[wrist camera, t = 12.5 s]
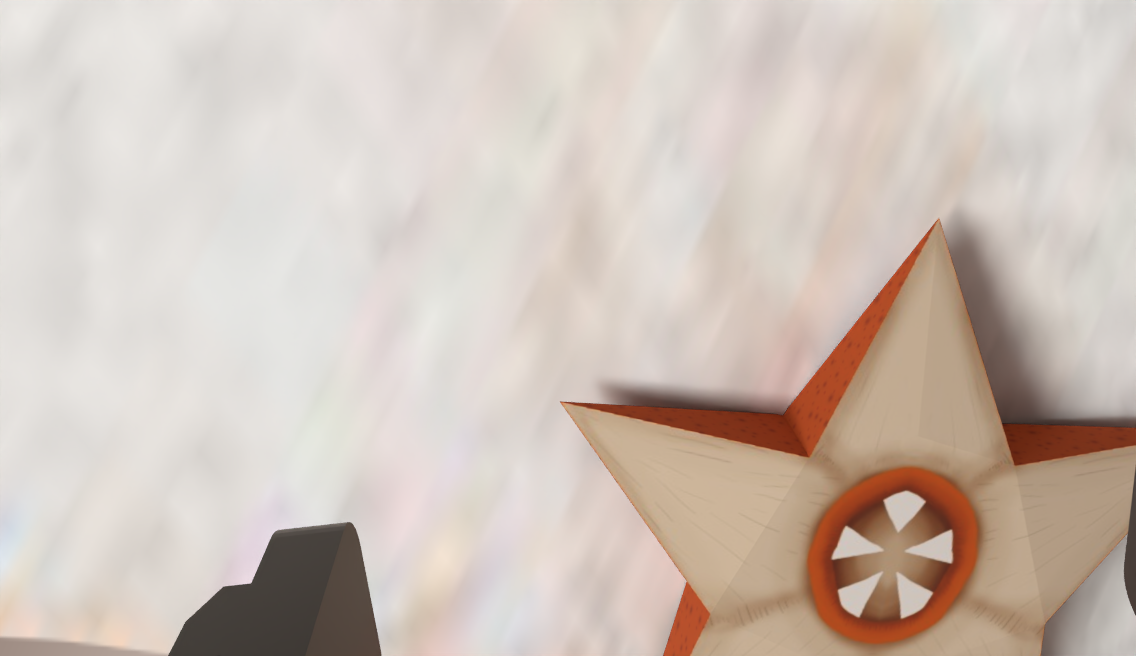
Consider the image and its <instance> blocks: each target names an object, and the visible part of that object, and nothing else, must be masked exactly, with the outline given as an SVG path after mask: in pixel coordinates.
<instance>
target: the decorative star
mask: <svg viewBox="0 0 1136 656" xmlns="http://www.w3.org/2000/svg"><path fill="white" fill-rule="evenodd" d="M561 404H562V405H563V407H564V408H565V409H566V411H567V412H568V414H569V415H570V417H571V418H572V419H573V421H574V422H575V424H576V425H577V426H578V428H579V429H580V431H581V432H582V434H583V435H584V436H585V438H586V439H587V441H588V442H589V443H590V445H591V446H592V448H593V449H594V451H595V452H596V453H597V455H598V456H599V458H600V459H601V460H602V462H603V463H604V465H605V466H606V468H607V469H608V470H609V472H610V473H611V475H612V476H613V477H614V479H615V480H616V482H617V483H618V484H619V486H620V487H621V489H622V490H623V492H624V493H625V494H626V496H627V497H628V499H629V500H630V501H631V503H632V504H633V506H634V507H635V509H636V510H637V511H638V513H639V514H640V516H641V517H642V518H643V520H644V521H645V523H646V524H647V526H648V527H649V528H650V530H651V531H652V533H653V534H654V535H655V537H656V538H657V540H658V541H659V543H660V544H661V545H662V547H663V548H664V550H665V551H666V552H667V554H668V555H669V557H670V558H671V560H672V561H673V562H674V564H675V565H676V567H677V568H678V569H679V571H680V572H681V574H682V575H683V577H684V578H685V579H686V581H687V582H686V586H685V589H684V592H683V595H682V598H681V601H680V604H679V608H678V611H677V614H676V617H675V620H674V623H673V626H672V630H671V633H670V636H669V639H668V642H667V645H666V648H665V652H664V655H663V656H1041V649H1042V642H1043V635H1044V628H1045V623H1046V622H1047V621H1048V620H1049V619H1050V618H1051V617H1052V616H1053V614H1054V613H1055V612H1056V611H1057V610H1058V609H1059V608H1060V607H1061V606H1062V605H1063V604H1064V602H1065V601H1066V600H1067V599H1068V598H1069V597H1070V596H1071V595H1072V594H1073V593H1074V591H1075V590H1076V589H1077V588H1078V587H1079V586H1080V585H1081V584H1082V583H1083V582H1084V580H1085V579H1086V578H1087V577H1088V576H1089V575H1090V574H1091V573H1092V572H1093V571H1094V569H1095V568H1096V567H1097V566H1098V565H1099V564H1100V563H1101V562H1102V561H1103V560H1104V558H1105V557H1106V556H1107V555H1108V554H1109V553H1110V552H1111V551H1112V550H1113V549H1114V547H1115V546H1116V545H1117V544H1118V543H1119V542H1120V541H1121V540H1122V539H1123V538H1124V536H1125V535H1126V534H1127V533H1128V528H1129V519H1130V510H1131V502H1132V493H1133V484H1134V475H1135V467H1136V428H1126V427H1094V426H1061V425H1028V424H1002V422H1001V419H1000V416H999V413H998V409H997V406H996V403H995V399H994V396H993V393H992V390H991V386H990V383H989V380H988V376H987V373H986V370H985V367H984V363H983V360H982V357H981V354H980V350H979V347H978V344H977V340H976V337H975V334H974V331H973V327H972V324H971V321H970V318H969V314H968V311H967V308H966V304H965V301H964V298H963V295H962V291H961V288H960V285H959V282H958V278H957V275H956V272H955V268H954V265H953V262H952V259H951V255H950V252H949V249H948V246H947V242H946V239H945V236H944V232H943V229H942V226H941V223H940V219H939V218H938V220H937V221H936V222H935V223H934V225H933V226H932V227H931V228H930V230H929V231H928V232H927V234H926V235H925V236H924V237H923V239H922V240H921V241H920V242H919V244H918V245H917V246H916V247H915V249H914V250H913V251H912V252H911V254H910V255H909V256H908V257H907V259H906V260H905V261H904V262H903V264H902V265H901V266H900V268H899V269H898V270H897V271H896V273H895V274H894V275H893V276H892V278H891V279H890V280H889V281H888V283H887V284H886V285H885V286H884V288H883V289H882V290H881V291H880V293H879V294H878V295H877V297H876V298H875V299H874V300H873V302H872V303H871V304H870V305H869V307H868V308H867V309H866V310H865V312H864V313H863V314H862V315H861V317H860V318H859V319H858V320H857V322H856V323H855V324H854V326H853V327H852V328H851V329H850V331H849V332H848V333H847V334H846V336H845V337H844V338H843V339H842V341H841V342H840V343H839V344H838V346H837V347H836V348H835V349H834V351H833V352H832V353H831V355H830V356H829V357H828V358H827V360H826V361H825V362H824V363H823V365H822V366H821V367H820V368H819V370H818V371H817V372H816V373H815V375H814V376H813V377H812V378H811V380H810V381H809V382H808V384H807V385H806V386H805V387H804V389H803V390H802V391H801V392H800V394H799V395H798V396H797V397H796V399H795V400H794V401H793V402H792V404H791V405H790V406H789V407H788V409H787V410H786V412H785V413H784V415H778V414H763V413H746V412H729V411H712V410H695V409H678V408H661V407H644V406H627V405H610V404H593V403H575V402H561Z"/></svg>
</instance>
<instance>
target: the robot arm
mask: <svg viewBox="0 0 1136 656" xmlns="http://www.w3.org/2000/svg"><path fill="white" fill-rule="evenodd" d="M1124 579H1125V586H1126V590H1127V594H1128V598H1129V601H1130V604H1131V606H1132V608H1133V611H1134V613H1135V615H1136V467H1135V475H1134V484H1133V493H1132V502H1131V510H1130V519H1129V528H1128V536H1127V545H1126V554H1125V562H1124ZM168 656H381V650H380V644H379V639H378V634H377V628H376V623H375V618H374V613H373V608H372V603H371V598H370V592H369V587H368V582H367V577H366V572H365V567H364V562H363V556H362V551H361V546H360V542H359V538H358V534H357V532H356V529H355V527H354V525H353V524H352V523H350V522H347V523H338V524H329V525H320V526H311V527H302V528H293V529H284V530H277V531H275V533H274V534H273V535H272V537H271V539H270V542H269V544H268V546H267V549H266V551H265V553H264V555H263V558H262V560H261V562H260V565H259V567H258V569H257V572H256V574H255V576H254V579H253V581H252V583H251V584H243V585H234V586H225V587H223V588H222V589H221V590H219V591H218V592H217V593H216V594H215V595H214V596H213V597H212V598H211V599H210V600H209V601H208V602H207V603H205V604H204V605H203V606H202V607H201V608H200V609H199V610H198V611H197V612H196V613H195V614H194V615H193V616H191V617H190V618H189V619H188V620H187V621H186V622H185V624H184V626H183V628H182V630H181V632H180V634H179V636H178V638H177V640H176V642H175V644H174V645H173V647H172V649H171V651H170V653H169V655H168Z"/></svg>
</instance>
